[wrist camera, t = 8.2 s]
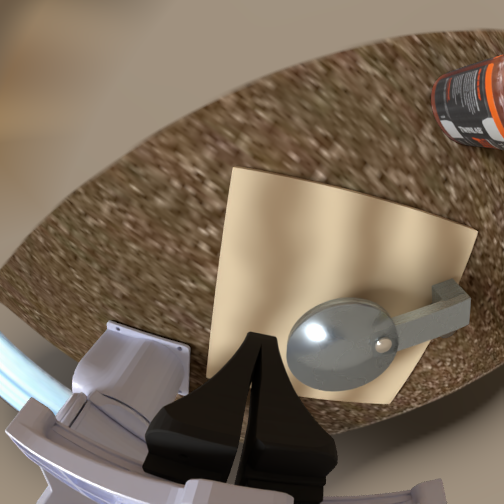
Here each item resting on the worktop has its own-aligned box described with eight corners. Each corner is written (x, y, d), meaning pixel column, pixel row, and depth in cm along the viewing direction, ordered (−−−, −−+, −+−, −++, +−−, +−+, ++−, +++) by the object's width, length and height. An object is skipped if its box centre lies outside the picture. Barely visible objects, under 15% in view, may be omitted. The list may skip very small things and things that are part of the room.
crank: (301, 372, 23) (301, 402, 20) (274, 298, 21) (270, 326, 17) (450, 328, 20) (466, 352, 16) (450, 245, 17) (474, 264, 14)
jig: (208, 369, 27) (198, 399, 24) (236, 165, 20) (222, 171, 16) (387, 396, 26) (394, 424, 22) (470, 227, 19) (497, 244, 15)
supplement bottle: (442, 152, 17) (546, 174, 7) (416, 79, 15) (509, 42, 5) (491, 138, 16) (589, 153, 5) (469, 70, 14) (562, 48, 3)
